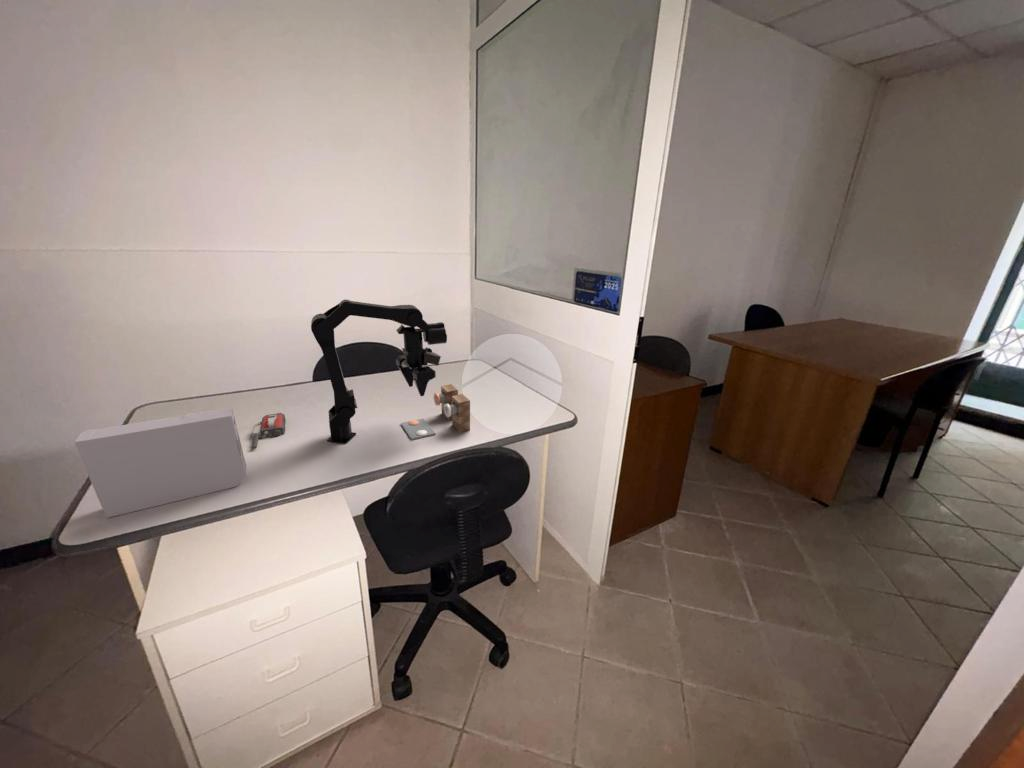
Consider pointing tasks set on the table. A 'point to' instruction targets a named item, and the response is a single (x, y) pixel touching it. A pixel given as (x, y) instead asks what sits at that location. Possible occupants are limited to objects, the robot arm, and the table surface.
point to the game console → (162, 460)
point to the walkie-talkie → (269, 427)
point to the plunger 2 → (450, 409)
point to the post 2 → (461, 413)
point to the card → (417, 429)
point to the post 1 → (448, 396)
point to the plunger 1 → (439, 398)
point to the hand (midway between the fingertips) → (416, 391)
